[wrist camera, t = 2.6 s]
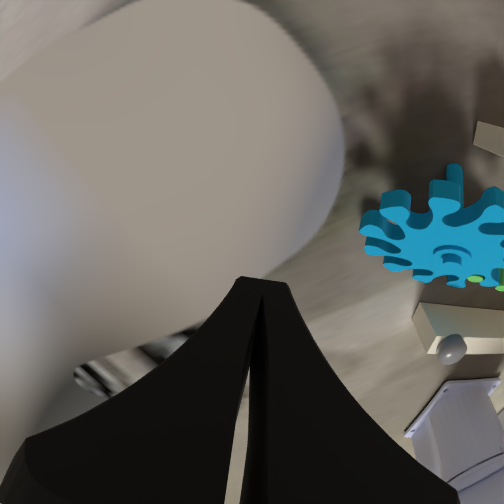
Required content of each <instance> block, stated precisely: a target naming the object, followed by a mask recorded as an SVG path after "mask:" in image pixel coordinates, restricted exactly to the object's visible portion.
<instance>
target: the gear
mask: <svg viewBox="0 0 504 504" xmlns="http://www.w3.org/2000/svg"><path fill="white" fill-rule="evenodd" d="M446 179H447V181H446V180H436V179H433V180H432V181H431V182H430V184H429V201H428V204H429V207H430V210H429V211H428V212H426V213H422V214H419V213H414V212H412V211H410V205H411V195H410V194H409V193H408V192H407V191H405V190H393V191H388V192H385V193H382V196H381V203H380V211H378V210H374V209H371V210H369V211H367V212H366V213H365V214H364V215H363V216H362V217H361V223H360V228H359V232H360V233H361V234H363V235H365V236H367V238H366V243H365V248H364V249H365V252H366V254H369V255H373V256H384V261H383V265H384V266H385V267H386V268H387V269H389V270H390V271H395V272H398V271H402V270H405V269H413V276H412V278H414V279H416V280H418V281H421V282H424V283H429V282H431V281H432V280H433V279H434V278H436V277H438V276H443V275H448V276H447V285H448V286H451V287H457V288H464V287H465V286H466V278H467V280H469V281H471V282H480V285H481V286H488V287H490V286H495V289H496V290H498V291H504V192H503V191H502V190H500V189H499V188H497V187H490V188H488V189H486V190H485V191H484V192H483V194H482V196H481V198H480V199H479V200H478V201H477V202H476V203H474V204H473V205H471V206H468V207H466V208H464V193H463V169H462V167H461V166H460V165H459V164H456V163H451V164H449V165H448V166H447V167H446ZM387 219H390V220H392V221H393V222H395V223H396V224H398V225H395V224H392V223H390V222H389V221H388V220H387Z"/></svg>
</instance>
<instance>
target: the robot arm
mask: <svg viewBox="0 0 504 504" xmlns="http://www.w3.org/2000/svg"><path fill="white" fill-rule="evenodd" d="M249 367H250V380H249V423H248V444H247V453H246V460H245V468H244V475H243V483H242V490H241V497H240V503H239V504H504V430H503V428H502V425H501V423H500V420H499V418H498V415H497V413H496V411H495V408H494V406H493V404H492V401H491V399H490V397H489V396H490V395H491V393H492V392H493V391H494V390H495V388H496V387H497V386H498V385H499V383H500V382H501V380H500V378H488V379H474V380H457V381H447V382H446V383H444V384H443V386H442V387H441V389H440V390H439V391H438V393H437V394H436V395H435V397H434V398H433V399H432V400H431V402H430V403H429V404H428V405H427V407H426V408H425V409H424V410H423V412H422V413H421V414H420V415H419V417H418V418H417V419H416V420H415V421H414V423H413V424H412V425H411V426H410V427H409V428H408V429H407V431H406V432H405V433H404V437H406V438H407V437H411V439H412V443H413V448H414V452H415V457H416V460H415V459H414V458H413V457H412V456H411V455H410V454H408V453H407V452H406V451H405V450H404V449H403V448H402V447H400V446H399V445H398V444H397V443H396V442H395V441H394V440H393V439H392V438H391V437H390V436H389V435H388V434H387V433H386V432H385V431H384V430H383V429H382V428H381V427H380V426H379V425H378V424H377V423H376V422H375V421H374V420H373V419H372V418H371V417H370V416H369V415H368V414H367V413H366V412H365V410H364V409H363V408H362V407H361V406H360V405H359V403H358V402H357V401H356V400H355V399H354V397H353V396H352V395H351V394H350V392H349V391H348V390H347V388H346V387H345V386H344V385H343V383H342V382H341V381H340V379H339V378H338V376H337V375H336V374H335V372H334V371H333V369H332V368H331V366H330V365H329V363H328V362H327V360H326V359H325V357H324V355H323V354H322V352H321V351H320V349H319V347H318V346H317V344H316V342H315V340H314V339H313V337H312V335H311V333H310V331H309V329H308V328H307V326H306V324H305V322H304V320H303V318H302V316H301V314H300V312H299V310H298V308H297V305H296V303H295V301H294V299H293V296H292V294H291V291H290V288H289V286H288V285H287V283H285V282H278V281H271V280H264V279H257V278H250V277H244V276H240V277H239V278H238V279H236V281H235V283H234V285H233V286H232V288H231V290H230V291H229V292H228V294H227V295H226V297H225V298H224V299H223V301H222V302H221V303H220V305H219V306H218V307H217V308H216V309H215V311H214V312H213V313H212V314H211V315H210V317H209V318H208V319H207V320H206V321H205V322H204V323H203V324H202V325H201V327H200V328H199V329H198V330H197V331H196V332H195V333H194V334H193V335H192V336H191V337H190V338H189V339H188V340H187V341H186V342H185V343H184V344H183V345H182V346H180V347H179V348H178V349H177V350H176V351H175V352H174V353H173V354H172V355H170V356H169V357H168V358H167V359H166V360H164V361H163V362H162V363H161V364H160V365H158V366H157V367H156V368H154V369H153V370H152V371H150V372H149V373H148V374H146V375H145V376H144V377H142V378H141V379H139V380H138V381H137V382H135V383H134V384H132V385H131V386H129V387H128V388H126V389H125V390H123V391H122V392H120V393H119V394H117V395H115V396H113V397H112V398H110V399H108V400H106V401H105V402H103V403H101V404H99V405H98V406H96V407H94V408H92V409H91V410H89V411H87V412H85V413H83V414H81V415H79V416H77V417H75V418H74V419H71V420H69V421H66V422H64V423H62V424H59V425H57V426H55V427H52V428H50V429H48V430H45V431H43V432H41V433H38V434H36V435H33V436H30V437H28V438H26V439H25V441H24V443H23V444H22V446H21V447H20V448H19V450H18V451H17V453H16V454H15V456H14V458H13V460H12V462H11V464H10V466H9V468H8V470H7V472H6V475H5V476H4V479H3V481H2V483H1V485H0V503H2V504H224V501H225V494H226V487H227V480H228V473H229V466H230V459H231V452H232V445H233V438H234V431H235V424H236V419H237V415H238V411H239V408H240V404H241V400H242V396H243V392H244V388H245V383H246V379H247V375H248V371H249Z"/></svg>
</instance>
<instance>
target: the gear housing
mask: <svg viewBox="0 0 504 504" xmlns="http://www.w3.org/2000/svg"><path fill="white" fill-rule="evenodd" d="M473 145H475V146H477V147H480V148H482V149H485V150H487V151H489V152H492V153H494V154H496V155H499V156H501V157H503V158H504V128H502V127H499V126H495V125H492V124H488V123H484V122H480V121H478V122H477V127H476V132H475V137H474V142H473ZM412 321H413V323H414V326H415V328H416V330H417V332H418V335H419V337H420V339H421V342H422V344H423V346H424V349H425V351H426V353H427V354H437V356H438V358H439V360H440V362H441V364H443V365H451V364H454V363H456V362H458V361H459V360H460V359H461V358H462V357H463V356H464V355H465V354H504V311H502V310H491V309H480V308H470V307H460V306H450V305H440V304H431V303H422V302H419V305H418V307H417V309H416V311H415V313H414V315H413V317H412Z"/></svg>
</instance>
